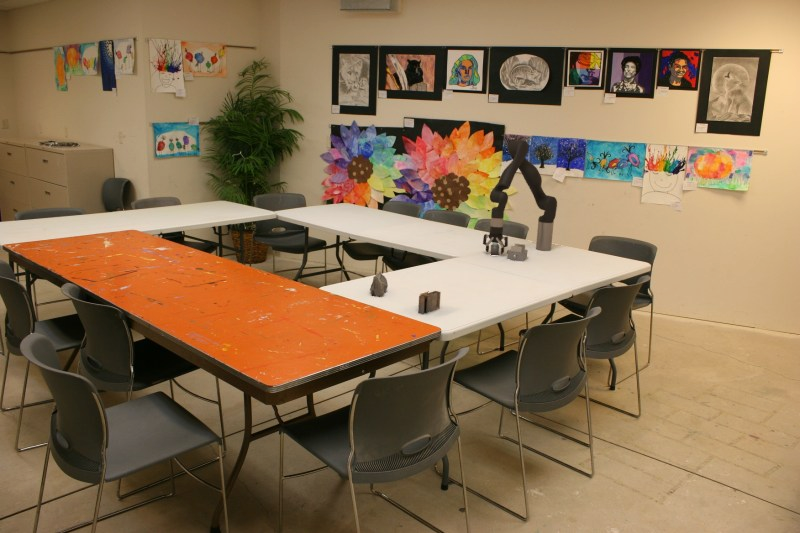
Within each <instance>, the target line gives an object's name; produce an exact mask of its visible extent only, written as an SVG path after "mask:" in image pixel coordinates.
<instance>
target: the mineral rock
mask: <svg viewBox="0 0 800 533" xmlns="http://www.w3.org/2000/svg"><path fill="white" fill-rule="evenodd" d="M372 278H373V279H372V282H371V285H370V288H369V291H370V295H371V296H374V297H384V295H385V291H387V290H388V285H389V284H388V280H387V278H386V277H385V275H383V274H382V272H381V271H379V272H378V273H377V274H375V275H374V276H373V277H372Z"/></svg>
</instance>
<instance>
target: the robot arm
mask: <svg viewBox="0 0 800 533" xmlns="http://www.w3.org/2000/svg"><path fill="white" fill-rule="evenodd" d="M529 148H530V146H529V143H528V142H527V141H526V140H519V139H518V140H511V141H509V142H508V143H507V152H508V154H509V157H511V162H510V163H509V164H508V166H506V167H505V168H504V170H503V171H502V172H501V175H500V178H499V180H498V182H497V184H496V185H495V186H494V187H493V189H492V190H491V192H490V194H489V200H490V202H492V203H495V204H498V205H497V206H494V207H492V209H491V215H490V217H491V218H490V223H489V234H487V233H484V234H483V241H482V244H483V245H485V251H486V253H489V252H490V245H491V243H492V244H493V243H496V244H498V245H499V246H500V247H501V248H500V255H503V254H504V253H505V248H508V246H509V237H508V235H507V236H504V235H503V232H504V222H505V221H504V216H505V209H506V207H507V204H508V200H509V196H508V193H507V192H506V191H507V190H508V189H510V187H511V185H512V183H513V181H514V178H515V176H516V173H517V172H518V170H519V172H520V173H521V174H522V177H523V179H524V181H525V183H526V184H527V186H528V188H529V189H530V192H531V193H532V196H533V198H534V200H535V204H536V205H537V207H538V209H540V210H542V211H544V212H543V214H542V215H540V216H538V220H537V222H538V223H537V230H536V231H537V233H536V243H535V249H536V250H538V251H545V250H548V251H551V250H552V240H553V231H554V221H555V218H556V214H557V209H558V201H557V197H555V196H552V195H547V194H546V192H544V190H543V187H542V182H543V180H542V179H543V178H542V176H541V173H540V172H539V170H538V168H537V167H536V166H535V165H534V164H533V163H532V162H530V161H529V160H528V159H527V158H526V156H527V154H528V152H529V150H530V149H529ZM505 190H506V191H505ZM488 238H489V240H488V241H487V239H488ZM503 241H504V242H503Z"/></svg>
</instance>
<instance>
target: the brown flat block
mask: <svg viewBox="0 0 800 533" xmlns="http://www.w3.org/2000/svg"><path fill="white" fill-rule="evenodd" d="M441 294H442V293H441V291H438V290H433V291H426V292H423V293H420V294H419V295H418V309H417V310H418V314H421V315H424V314H428V313H431V312H434V311H437V310H440V308H441V307H440V306H441ZM424 312H425V313H424Z"/></svg>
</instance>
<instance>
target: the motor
mask: <svg viewBox="0 0 800 533" xmlns="http://www.w3.org/2000/svg"><path fill="white" fill-rule="evenodd" d="M506 255H507V258H506V259H510V260H509V261H515V260H516V262H524V261H525V260H526V259H528V249H526V244H522V243H514V245H511V246H510V249H507V250H506Z"/></svg>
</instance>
